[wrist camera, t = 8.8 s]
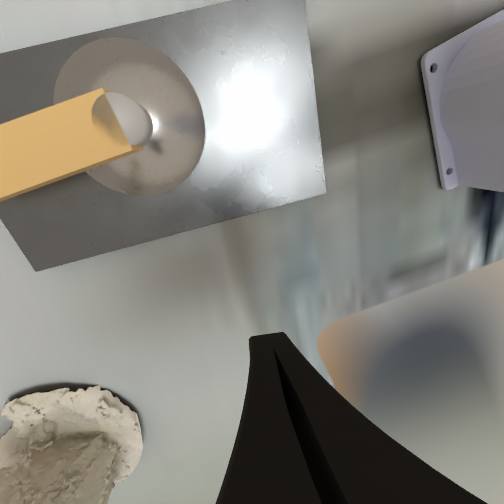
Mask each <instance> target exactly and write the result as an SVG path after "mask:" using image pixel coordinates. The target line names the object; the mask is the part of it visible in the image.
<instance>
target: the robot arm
mask: <svg viewBox="0 0 504 504" xmlns="http://www.w3.org/2000/svg"><path fill="white" fill-rule="evenodd" d="M431 66H432V67H433V70H432V72H430V67H431ZM421 69H422V75H423V81H424V87H425V92H426V98H427V104H428V110H429V116H430V121H431V127H432V133H433V139H434V145H435V150H436V156H437V162H438V168H439V174H440V180H441V185H442V188H443V189H445V190H452V189H454V188H456V187H457V186H459V185H460V186H467V187H473V188H480V189H487V190H493V191H500V192H504V9H503V10H501V11H499V12H497V13H496V14H494V15H492V16H490V17H488V18H487V19H485V20H483V21H481V22H480V23H478V24H476V25H474V26H472V27H471V28H469V29H467V30H465V31H464V32H462V33H460V34H458V35H456V36H455V37H453V38H451V39H449V40H448V41H446V42H444V43H442V44H440V45H439V46H437V47H435V48H433V49H432V50H430V51H428V52H426V53H425V54H424V55H423V57H422V59H421ZM447 169H448V172H447V173H446V171H447ZM249 350H250V368H249V376H248V384H247V390H246V395H245V401H244V406H243V411H242V416H241V420H240V424H239V428H238V432H237V436H236V440H235V444H234V447H233V451H232V454H231V457H230V461H229V464H228V468H227V471H226V474H225V477H224V480H223V484H222V487H221V490H220V493H219V495H218V498H217V501H216V504H487V503H486V502H484V501H483V500H481V499H479V498H478V497H476V496H474V495H473V494H471V493H470V492H468V491H466V490H465V489H463V488H462V487H460V486H459V485H457V484H455V483H454V482H453V481H451V480H450V479H448V478H447V477H445V476H444V475H442V474H441V473H439V472H438V471H436V470H435V469H433V468H432V467H431V466H429V465H428V464H426V463H425V462H424V461H422V460H421V459H420V458H418V457H417V456H416V455H414V454H413V453H411V452H410V451H409V450H407V449H406V448H405V447H403V446H402V445H400V444H399V443H398V442H396V441H395V440H394V439H392V438H391V437H390V436H388V435H387V434H386V433H384V432H383V431H382V430H381V429H380V428H378V427H377V426H376V425H375V424H373V423H372V422H371V421H370V420H368V419H367V418H366V417H365V416H364V415H363V414H362V413H360V412H359V411H358V410H357V409H356V408H355V407H353V406H352V405H351V404H350V403H349V402H348V401H347V400H346V399H345V398H344V397H342V396H341V395H340V394H339V393H338V392H337V391H336V390H335V389H334V388H333V387H332V386H331V385H330V384H329V383H328V382H327V381H326V380H325V379H324V378H323V377H322V376H321V375H320V374H319V373H318V371H317V370H316V369H315V368H314V367H313V366H312V365H311V364H310V363H309V362H308V361H307V360H306V358H305V357H304V356H303V355H302V354H301V353H300V351H299V350H298V349H297V348H296V347H295V345H294V344H293V343H292V342H291V340H290V339H289V338H288V336H287V335H286V334H285V333H284V332H279V333H272V334H265V335H258V336H251V338H250V339H249Z"/></svg>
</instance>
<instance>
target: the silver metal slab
mask: <svg viewBox="0 0 504 504" xmlns="http://www.w3.org/2000/svg"><path fill="white" fill-rule="evenodd" d="M100 88H103V89H105V90H107V91H108V92H116V93H120V94H123V95H125V96H127V97H128V98H130V99H132V100H133V101H135V102H136V103H138V104H140V105H141V106H143V107H144V108H145V109H146V110H147V112H148V113H149V114H150V116H151V119H152V122H153V133H152V136H151V138H150V140H149V141H148V142H147V143H146V144H144V145H142V147H143V149H144V150H141V151H139V152H136V153H133V154H130V155H128V156H125V157H122V158H119V159H117V160H114V161H111V162H108V163H106V164H103V165H100V166H97V167H95V168H92V169H89V170H86V171H84V172H81V173H78V174H75V175H73V176H70V177H67V178H64V179H62V180H59V181H56V182H53V183H51V184H48V185H45V186H42V187H40V188H37V189H34V190H31V191H29V192H26V193H23V194H20V195H18V196H15V197H12V198H9V199H7V200H4V201H1V202H0V219H1V220H2V222H3V223H4V225H5V226H6V228H7V229H8V231H9V232H10V234H11V235H12V237H13V238H14V240H15V241H16V243H17V244H18V246H19V247H20V249H21V250H22V252H23V253H24V255H25V256H26V258H27V259H28V261H29V262H30V264H31V265H32V267H33V268H34V270H35V271H36V272H37V271H40V270H44V269H48V268H52V267H55V266H59V265H63V264H66V263H70V262H74V261H77V260H81V259H85V258H89V257H92V256H96V255H100V254H103V253H107V252H111V251H114V250H118V249H122V248H126V247H129V246H133V245H137V244H140V243H144V242H148V241H151V240H155V239H159V238H163V237H166V236H170V235H174V234H177V233H181V232H185V231H188V230H192V229H196V228H200V227H203V226H207V225H211V224H214V223H218V222H222V221H225V220H229V219H233V218H237V217H240V216H244V215H248V214H251V213H255V212H259V211H262V210H266V209H270V208H274V207H277V206H281V205H285V204H288V203H292V202H296V201H299V200H303V199H307V198H311V197H314V196H318V195H322V194H325V193H326V185H325V176H324V167H323V158H322V149H321V140H320V131H319V122H318V114H317V105H316V96H315V87H314V78H313V69H312V60H311V51H310V42H309V33H308V24H307V15H306V6H305V0H233V1H228V2H224V3H219V4H215V5H211V6H206V7H202V8H197V9H193V10H189V11H184V12H180V13H176V14H171V15H167V16H162V17H158V18H154V19H149V20H145V21H141V22H136V23H132V24H127V25H123V26H119V27H114V28H110V29H106V30H101V31H97V32H92V33H88V34H84V35H79V36H75V37H71V38H66V39H62V40H57V41H53V42H49V43H44V44H40V45H36V46H31V47H27V48H22V49H18V50H14V51H9V52H5V53H1V54H0V124H3V123H6V122H9V121H11V120H14V119H17V118H20V117H22V116H25V115H28V114H31V113H34V112H36V111H39V110H42V109H45V108H47V107H50V106H53V105H56V104H59V103H61V102H64V101H67V100H70V99H72V98H75V97H78V96H81V95H84V94H86V93H89V92H92V91H95V90H97V89H100Z"/></svg>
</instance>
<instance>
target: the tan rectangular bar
mask: <svg viewBox="0 0 504 504" xmlns="http://www.w3.org/2000/svg"><path fill="white" fill-rule="evenodd" d="M152 133H153V122H152V119H151V116H150V114H149V113H148V112H147V110H146V109H145V108H144V107H143V106H141V105H140V104H138V103H136V102H135V101H133V100H132V99H130V98H128V97H127V96H125V95H123V94H120V93H116V92H108V91H107V90H105V89H103V88H100V89H97V90H95V91H92V92H89V93H86V94H84V95H81V96H78V97H75V98H72V99H70V100H67V101H64V102H61V103H59V104H56V105H53V106H50V107H47V108H45V109H42V110H39V111H36V112H34V113H31V114H28V115H25V116H22V117H20V118H17V119H14V120H11V121H9V122H6V123H3V124H0V202H1V201H4V200H7V199H9V198H12V197H15V196H18V195H20V194H23V193H26V192H29V191H31V190H34V189H37V188H40V187H42V186H45V185H48V184H51V183H53V182H56V181H59V180H62V179H64V178H67V177H70V176H73V175H75V174H78V173H81V172H84V171H86V170H89V169H92V168H95V167H97V166H100V165H103V164H106V163H108V162H111V161H114V160H117V159H119V158H122V157H125V156H128V155H130V154H133V153H136V152H139V151H141V150H144V149H143V147H142V145H144V144H146V143H147V142H148V141H149V140H150V138H151V136H152Z"/></svg>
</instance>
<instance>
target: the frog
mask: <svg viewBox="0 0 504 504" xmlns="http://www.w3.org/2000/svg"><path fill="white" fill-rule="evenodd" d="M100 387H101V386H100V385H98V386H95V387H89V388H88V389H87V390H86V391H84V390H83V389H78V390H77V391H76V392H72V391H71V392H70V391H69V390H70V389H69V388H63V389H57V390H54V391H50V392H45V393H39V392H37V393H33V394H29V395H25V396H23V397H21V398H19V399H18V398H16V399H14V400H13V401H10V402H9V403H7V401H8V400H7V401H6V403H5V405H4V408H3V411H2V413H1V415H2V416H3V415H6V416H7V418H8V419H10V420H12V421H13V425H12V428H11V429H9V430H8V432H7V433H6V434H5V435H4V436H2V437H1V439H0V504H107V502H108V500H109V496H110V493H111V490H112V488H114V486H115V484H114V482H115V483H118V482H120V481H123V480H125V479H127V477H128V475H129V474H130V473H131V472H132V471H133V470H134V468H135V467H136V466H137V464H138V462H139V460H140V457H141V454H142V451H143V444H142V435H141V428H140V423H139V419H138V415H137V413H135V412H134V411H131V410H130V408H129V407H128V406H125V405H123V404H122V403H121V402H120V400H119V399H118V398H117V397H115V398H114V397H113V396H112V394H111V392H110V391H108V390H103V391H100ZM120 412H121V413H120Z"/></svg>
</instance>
